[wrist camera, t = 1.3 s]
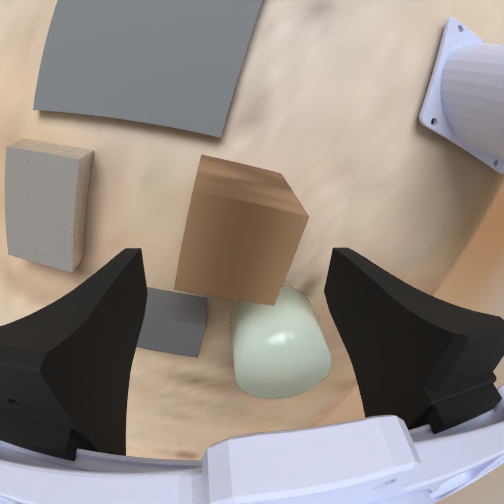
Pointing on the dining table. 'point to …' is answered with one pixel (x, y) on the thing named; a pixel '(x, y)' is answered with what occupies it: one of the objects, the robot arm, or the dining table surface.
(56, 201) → the grey topped wooden block
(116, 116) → the slate coaster
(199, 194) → the walnut block
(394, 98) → the dining table surface
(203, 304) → the charcoal rubber bar
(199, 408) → the dining table surface
